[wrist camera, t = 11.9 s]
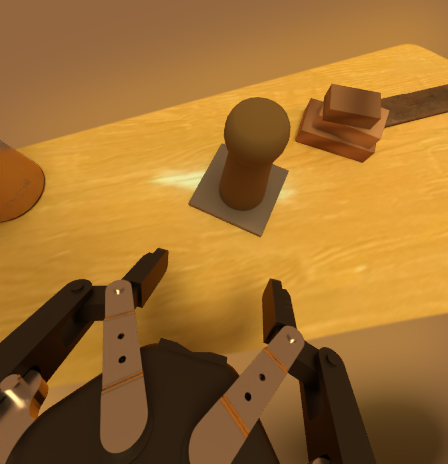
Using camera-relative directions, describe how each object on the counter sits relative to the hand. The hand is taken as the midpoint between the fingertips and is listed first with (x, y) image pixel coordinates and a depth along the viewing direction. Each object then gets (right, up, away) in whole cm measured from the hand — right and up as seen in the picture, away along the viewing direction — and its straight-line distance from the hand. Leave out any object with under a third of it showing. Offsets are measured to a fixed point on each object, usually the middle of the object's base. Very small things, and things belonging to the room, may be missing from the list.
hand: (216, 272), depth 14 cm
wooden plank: (+32, +23, +16) cm, 42 cm away
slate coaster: (+3, +9, +10) cm, 14 cm away
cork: (+3, +9, +10) cm, 13 cm away
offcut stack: (+17, +17, +13) cm, 27 cm away
